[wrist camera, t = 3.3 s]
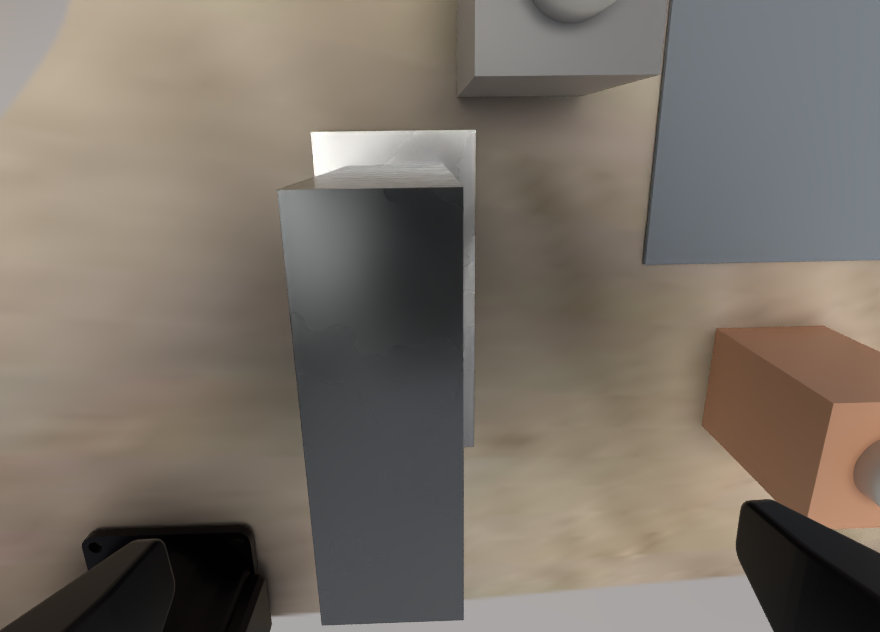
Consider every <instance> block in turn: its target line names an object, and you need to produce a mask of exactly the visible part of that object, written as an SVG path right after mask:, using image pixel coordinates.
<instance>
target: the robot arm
mask: <svg viewBox="0 0 880 632" xmlns="http://www.w3.org/2000/svg"><path fill="white" fill-rule="evenodd" d="M236 537H237V538H241V539H242V540H243V541H238V540H236V539H235V538H236ZM95 542H96V543H99V544H100V545H101V546H100V545H98V544H96V543H95ZM82 549H83V553H84V557H85V561H86V564H87V568H88V571H87V572H86V573H84V574H83V575H81V576H80V577H78V578H77V579H75V580H74V581H72V582H71V583H69V584H68V585H66V586H65V587H64V588H62V589H61V590H59V591H58V592H56V593H55V594H53V595H52V596H50V597H49V598H47V599H46V600H44V601H43V602H41V603H40V604H38V605H37V606H35V607H34V608H32V609H31V610H29V611H28V612H27V613H25V614H24V615H22V616H21V617H19V618H18V619H16V620H15V621H13V622H12V623H10V624H9V625H7V626H6V627H4V628H3V629H1V630H0V632H270V629H271V625H272V622H271V614H270V607H269V600H268V593H267V586H266V579H265V578H264V576H263V575H262V574H259V572H258V565H257V558H256V551H255V544H254V537H253V534H252V531H251V530H250V529H249V528H247V527H245V526H239V525H238V526H207V527H177V528H146V529H115V530H96V531H93V532H91V533H90V534H89V535H88V536H87V538H86V539H85V540H84V542H83V543H82ZM736 552H737V556H738V559H739V561H740V563H741V565H742V568H743V570H744V572H745V574H746V576H747V578H748V580H749V582H750V584H751V586H752V588H753V590H754V592H755V594H756V596H757V598H758V600H759V602H760V605H761V606H762V609H763V611H764V613H765V615H766V617H767V619H768V621H769V623H770V625H771V627H772V629H773V631H774V632H880V553H878V552H876V551H874V550H872V549H870V548H868V547H866V546H864V545H862V544H860V543H858V542H856V541H854V540H852V539H850V538H848V537H846V536H844V535H842V534H840V533H838V532H836V531H834V530H832V529H830V528H828V527H826V526H824V525H822V524H820V523H818V522H816V521H814V520H812V519H810V518H808V517H806V516H804V515H802V514H800V513H798V512H796V511H794V510H792V509H790V508H788V507H786V506H784V505H782V504H780V503H778V502H776V501H774V500H770V499H764V500H749V501H746V502H744V503H743V504H742V506H741V510H740V516H739V523H738V530H737V537H736Z"/></svg>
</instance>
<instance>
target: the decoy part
mask: <svg viewBox="0 0 880 632" xmlns="http://www.w3.org/2000/svg"><path fill="white" fill-rule="evenodd" d="M667 4H668V0H457V97H517V96H583V95H587V94H590V93H594V92H598V91H601V90H605V89H609V88H612V87H616V86H620V85H623V84H627V83H631V82H634V81H638V80H642V79H645V78H649V77H653V76H656V75H660V72H661V63H662V53H663V43H664V33H665V23H666V13H667Z"/></svg>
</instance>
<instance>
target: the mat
mask: <svg viewBox="0 0 880 632" xmlns="http://www.w3.org/2000/svg"><path fill="white" fill-rule="evenodd" d="M853 260H880V0H670V6H669V16H668V25H667V35H666V45H665V55H664V64H663V74H662V84H661V94H660V103H659V113H658V123H657V133H656V142H655V152H654V162H653V171H652V181H651V191H650V201H649V210H648V220H647V230H646V240H645V249H644V259H643V264H645V265H657V264H706V263H755V262H804V261H853Z"/></svg>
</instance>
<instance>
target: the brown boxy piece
mask: <svg viewBox="0 0 880 632" xmlns="http://www.w3.org/2000/svg"><path fill="white" fill-rule="evenodd" d="M702 426H703V427H704V428H705V429H706V430H707V431H708V432H709V433H710V434H711V435H712V436H713V437H714V438H715V439H716V440H717V441H718V442H719V443H720V444H721V445H722V446H723V447H724V448H725V449H726V450H727V451H728V452H729V454H730V455H731V456H732V457H733V458H734V459H735V460H736V461H737V462H738V463H739V464H740V465H741V466H742V467H743V468H744V469H745V470H746V471H747V472H748V473H749V474H750V475H751V476H752V477H753V478H754V479H755V480H756V481H757V482H758V483H759V484H760V485H761V486H762V487H763V488H764V489H765V490H766V491H767V492H768V493H769V494H770V495H771V496H772V497H773V498H774V499H775V500H776V501H777V502H778V503H780V504H782V505H784V506H786V507H788V508H790V509H792V510H794V511H796V512H798V513H800V514H802V515H804V516H806V517H808V518H810V519H812V520H814V521H816V522H818V523H820V524H822V525H824V526H826V527H828V528H830V529H847V528H876V527H880V352H879V351H877V350H874V349H872V348H870V347H868V346H866V345H864V344H861V343H859V342H857V341H855V340H853V339H851V338H849V337H846V336H844V335H842V334H840V333H838V332H836V331H833V330H831V329H829V328H827V327H825V326H797V327H755V328H717V329H716V335H715V342H714V349H713V355H712V362H711V369H710V375H709V382H708V389H707V395H706V402H705V409H704V415H703V422H702Z"/></svg>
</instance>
